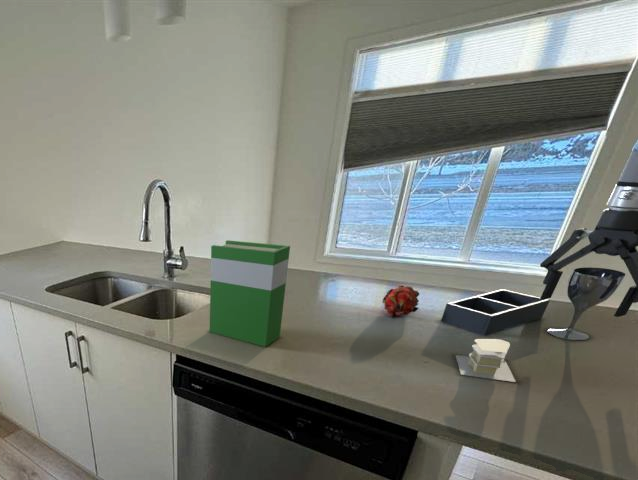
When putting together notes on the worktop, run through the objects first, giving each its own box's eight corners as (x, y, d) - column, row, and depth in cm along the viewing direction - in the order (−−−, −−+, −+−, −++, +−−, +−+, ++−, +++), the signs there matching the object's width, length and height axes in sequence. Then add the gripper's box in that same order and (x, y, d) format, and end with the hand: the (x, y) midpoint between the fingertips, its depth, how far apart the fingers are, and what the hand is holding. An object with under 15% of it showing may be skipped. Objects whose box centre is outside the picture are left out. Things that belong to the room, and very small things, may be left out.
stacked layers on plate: (515, 382, 82) (527, 358, 79) (460, 374, 86) (469, 351, 83) (505, 361, 89) (515, 338, 86) (455, 355, 93) (463, 333, 90)
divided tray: (541, 318, 106) (550, 299, 103) (484, 335, 100) (492, 316, 98) (495, 306, 115) (502, 288, 112) (440, 321, 109) (446, 303, 107)
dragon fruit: (401, 311, 121) (395, 331, 114) (378, 293, 122) (371, 312, 115) (428, 292, 114) (423, 312, 107) (403, 273, 115) (397, 291, 108)
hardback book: (209, 331, 116) (211, 245, 104) (224, 323, 120) (227, 240, 108) (265, 346, 105) (274, 252, 93) (279, 337, 109) (290, 246, 97)
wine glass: (582, 329, 99) (614, 267, 91) (598, 342, 93) (633, 277, 85) (540, 326, 102) (567, 266, 94) (552, 338, 96) (583, 276, 88)
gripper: (546, 205, 92) (509, 294, 103) (714, 217, 72) (645, 327, 83) (567, 201, 94) (528, 289, 105) (736, 212, 74) (666, 320, 85)
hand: (580, 306), depth 94 cm, fingers open, 13 cm apart
